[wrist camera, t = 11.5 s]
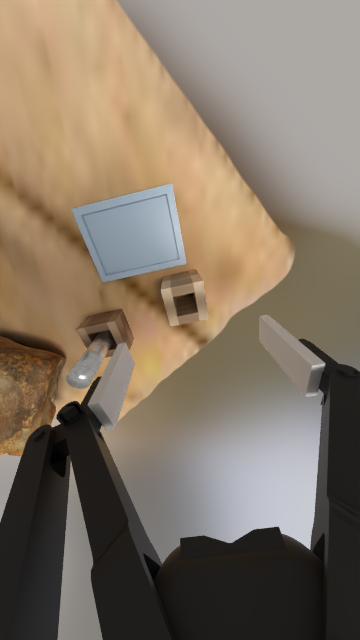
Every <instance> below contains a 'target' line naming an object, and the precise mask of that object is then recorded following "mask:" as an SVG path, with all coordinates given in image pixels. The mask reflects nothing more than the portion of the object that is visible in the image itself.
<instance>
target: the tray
mask: <svg viewBox="0 0 360 640" xmlns="http://www.w3.org/2000/svg"><path fill="white" fill-rule="evenodd" d="M71 211H72V213H73V215H74V218H75V220H76V222H77V225H78V227H79V229H80V232H81V234H82V236H83V238H84V241H85V243H86V245H87V248H88V250H89V252H90V255H91V257H92V259H93V262H94V264H95V266H96V269H97V271H98V273H99V276H100V278H101V280H102V283H103V282H108V281H112V280H117V279H121V278H126V277H130V276H135V275H139V274H144V273H148V272H153V271H157V270H162V269H166V268H170V267H175V266H179V265H184V264H187V263H186V258H185V252H184V247H183V241H182V236H181V230H180V225H179V219H178V214H177V208H176V203H175V197H174V192H173V186H172V183H171V184H167V185H163V186H159V187H155V188H151V189H147V190H143V191H140V192H136V193H132V194H128V195H124V196H120V197H116V198H112V199H108V200H104V201H100V202H96V203H92V204H88V205H84V206H80V207H76V208H72V209H71Z"/></svg>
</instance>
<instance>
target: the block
mask: <svg viewBox="0 0 360 640" xmlns="http://www.w3.org/2000/svg"><path fill="white" fill-rule="evenodd" d="M161 293H162V297H163V301H164V304H165V308H166V312H167V316H168V319H169V323H170V326H175V325H180V324H185V323H190V322H195V321H200V320H205V319H209V318H208V311H207V304H206V297H205V290H204V283H203V280H202V278H201V277H200V275H199V274H198V272H197V271H196V270H191V271H187V272H182V273H178V274H173V275H169V276H164V277H163V281H162V285H161ZM189 293H192V295H190V296H186V297H181V298H176V296H180V295H185V294H189Z"/></svg>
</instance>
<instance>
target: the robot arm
mask: <svg viewBox="0 0 360 640" xmlns="http://www.w3.org/2000/svg"><path fill="white" fill-rule="evenodd" d="M259 341H260V342H261V343H262V344H263V346H264V347H265V348H266V349H267V350H268V352H269V353H270V354H271V355H272V357H273V358H274V359H275V360H276V362H277V363H278V364H279V365H280V366H281V368H282V369H283V370H284V371H285V373H286V374H287V375H288V376H289V377H290V379H291V380H292V381H293V382H294V384H295V385H296V386H297V387H298V388H299V390H300V391H301V392H302V393H303V395H304V396H305V397H307V396H313V395H317V394H318V390H319V389H320V390H321V391H322V392H323V393H324V395H323V398H322V402H321V405H322V417H321V432H320V446H319V460H318V474H317V489H316V503H315V517H314V524H313V529H312V536H311V548H310V550H309V549H308V548H307V547H305V546H304V545H303V544H301V543H300V542H298V541H297V540H295V539H293V538H291V537H289V536H287V535H284V534H281V532H280V529H279V527H273V528H264V529H256V530H253V531H251V532H249V533H248V534H246V535H244V536H243V537H241V538H239V539H238V540H236V541H234V542H233V543H226V542H223V541H220V540H217V539H213V538H210V537H207V536H196V537H187V538H181V539H180V546H179V547H177V548H176V549H175V550H174V551H173V552H172V553H171V554H170V555H169V556H168V557H167V558H166V560H165V561H164V563H163V564H162V563H161V561H160V559H159V557H158V554H157V553H156V551H155V549H154V547H153V546H152V544H151V543H150V540H149V538H148V537H147V534H146V532H145V530H144V527H143V525H142V523H141V521H140V519H139V516H138V514H137V512H136V510H135V507H134V505H133V503H132V501H131V498H130V496H129V494H128V492H127V490H126V487H125V486H124V483H123V480H122V478H121V476H120V474H119V472H118V469H117V467H116V465H115V463H114V460H113V458H112V456H111V454H110V451H109V449H108V447H107V445H106V442H105V441H104V438H103V436H102V434H101V432H100V428H101V425H102V426H103V427H104V429H105V430H106V429H112V428H116V424H117V421H118V418H119V414H120V411H121V408H122V404H123V401H124V398H125V394H126V391H127V388H128V385H129V381H130V378H131V375H132V371H133V368H134V365H135V363H134V360H133V358H132V356H131V353H130V351H129V349H128V347H127V344H126V343H121V344H118V346H117V348H116V350H115V352H114V354H113V356H112V358H111V360H110V362H109V363H108V365H107V367H106V369H105V371H104V373H103V375H102V376H101V377H97V379H96V380H95V381H94V382H93V383H92V385H91V387H90V389H89V390H88V392H87V394H86V396H85V398H84V399H83V401H82V403H81V405H80V404H79V403H78V402H77V401H73V402H70V403H68V404H66V405H65V406H64V407H63V408H62V409H61V410H60V411H59V412H58V414H57V420H58V421H59V422H60V423H61V424H60V425H58V426H55V427H53V428H52V427H51V426H50V425H49V424H45V425H43V426H40V427H39V428H37V429H36V430H35V431H34V432H33V433H32V434H31V435H30V436H29V437H28V439H27V441H26V444H25V447H24V450H23V453H22V457H21V460H20V463H19V466H18V469H17V472H16V475H15V478H14V482H13V485H12V488H11V491H10V494H9V497H8V500H7V503H6V507H5V510H4V513H3V516H2V519H1V522H0V640H57V638H58V624H59V611H60V597H61V584H62V570H63V557H64V544H65V530H66V517H67V503H68V490H69V477H70V461H71V462H72V466H73V471H74V475H75V480H76V484H77V489H78V493H79V498H80V502H81V507H82V511H83V515H84V520H85V524H86V529H87V533H88V538H89V542H90V547H91V551H92V556H93V567H92V570H91V582H92V588H93V593H94V598H95V603H96V608H97V613H98V618H99V623H100V628H101V632H102V638H103V640H360V372H359V371H358V370H357V369H355V368H353V367H351V366H348V365H342V364H338V363H337V362H336V361H334V360H333V359H332V358H331V357H329V356H328V355H327V354H325V353H324V352H323V351H321V350H320V349H319V348H317V347H316V346H315V345H314V344H312V343H311V342H309V341H307V340H305V339H299V340H297V339H296V338H295V337H293V336H292V335H291V334H290V333H289V332H288V331H286V330H285V329H284V328H283V327H282V326H280V325H279V324H278V323H277V322H276V321H274V320H273V319H272V318H271V317H269V315H264V316H260V317H259Z"/></svg>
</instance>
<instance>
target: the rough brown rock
mask: <svg viewBox="0 0 360 640" xmlns="http://www.w3.org/2000/svg"><path fill="white" fill-rule="evenodd" d="M64 362H65V358H64V357H63V356H61V355H59V354H56V353H53V352H50V351H44V350H40V349H34V348H30V347H27V346H23V345H21V344H18V343H15V342H14V341H12V340H10V339H7V338H5V337H1V336H0V455H2V454H5V453H8V454H9V455H14V456H22V453H23V450H24V447H25V444H26V441H27V439H28V437H29V436H30V435H31V434H32V433H33V432H34V431H35V430H36V429H37V428H39V427H40V426H43V425H45V424H49V425H50V426H51V423H52V420H53V418H54V415H55V412H56V406H55V405H54V403H53V401H54V399H55V396H56V390H57V380H58V378H59V376H60V372H61V370H62V367H63V365H64Z"/></svg>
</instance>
